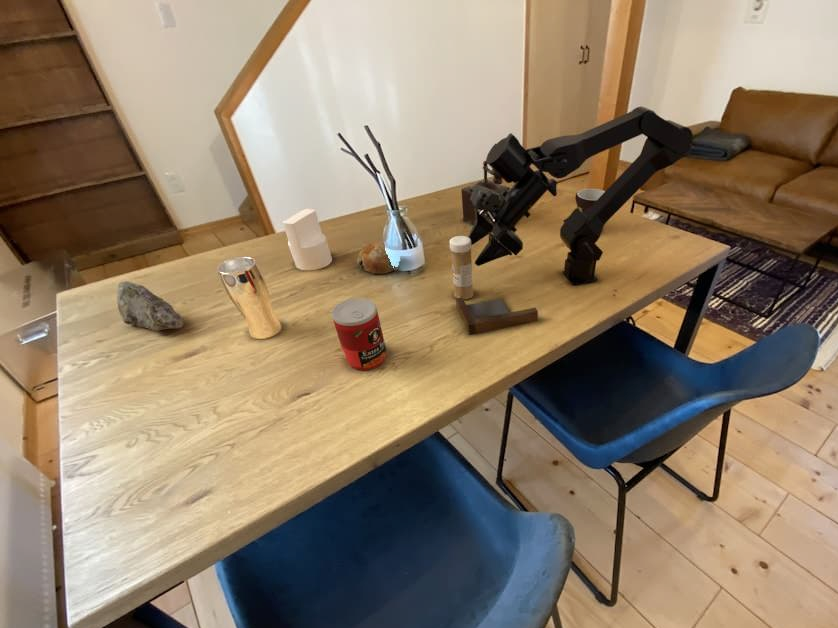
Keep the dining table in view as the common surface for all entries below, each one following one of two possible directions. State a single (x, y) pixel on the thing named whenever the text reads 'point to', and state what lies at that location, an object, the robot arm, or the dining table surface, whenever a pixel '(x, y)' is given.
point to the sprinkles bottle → (462, 266)
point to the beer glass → (249, 295)
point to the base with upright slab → (307, 241)
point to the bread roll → (375, 259)
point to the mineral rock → (145, 308)
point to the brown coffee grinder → (495, 186)
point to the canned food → (360, 333)
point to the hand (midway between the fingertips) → (471, 254)
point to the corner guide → (492, 315)
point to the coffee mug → (587, 198)
